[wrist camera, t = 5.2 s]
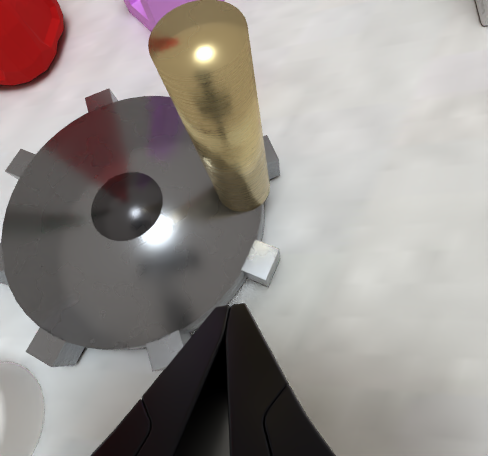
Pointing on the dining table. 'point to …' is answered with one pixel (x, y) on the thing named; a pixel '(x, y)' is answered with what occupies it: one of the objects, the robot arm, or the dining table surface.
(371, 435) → the dining table surface
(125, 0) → the bracket
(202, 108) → the sprocket
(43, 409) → the white brass knuckles
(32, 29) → the water bottle
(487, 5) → the supplement box
